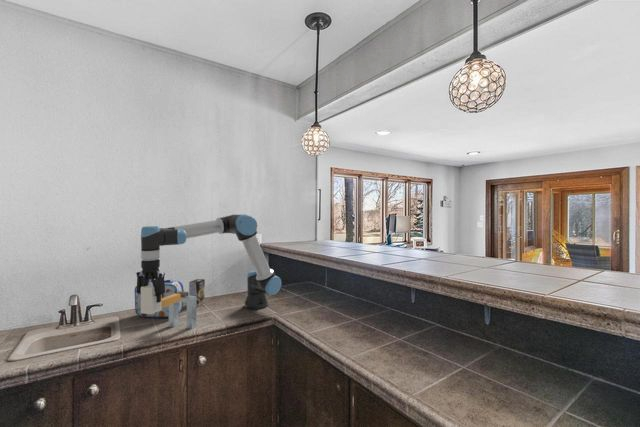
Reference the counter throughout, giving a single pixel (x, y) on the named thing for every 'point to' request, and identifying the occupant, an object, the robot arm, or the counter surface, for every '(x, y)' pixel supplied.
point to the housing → (190, 311)
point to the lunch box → (170, 289)
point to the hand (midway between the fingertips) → (150, 308)
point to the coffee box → (197, 290)
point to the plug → (148, 300)
